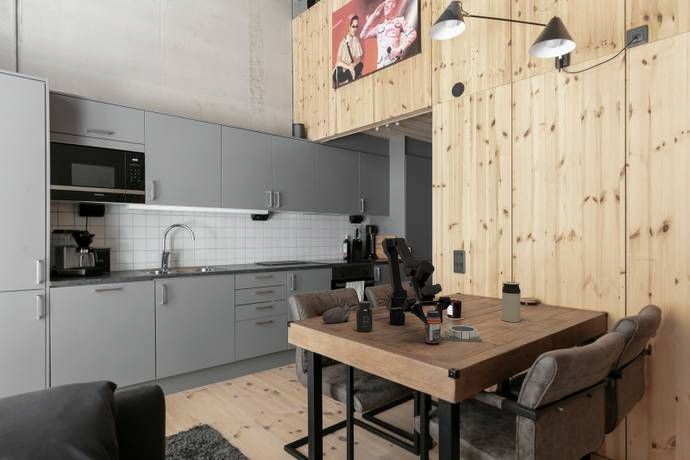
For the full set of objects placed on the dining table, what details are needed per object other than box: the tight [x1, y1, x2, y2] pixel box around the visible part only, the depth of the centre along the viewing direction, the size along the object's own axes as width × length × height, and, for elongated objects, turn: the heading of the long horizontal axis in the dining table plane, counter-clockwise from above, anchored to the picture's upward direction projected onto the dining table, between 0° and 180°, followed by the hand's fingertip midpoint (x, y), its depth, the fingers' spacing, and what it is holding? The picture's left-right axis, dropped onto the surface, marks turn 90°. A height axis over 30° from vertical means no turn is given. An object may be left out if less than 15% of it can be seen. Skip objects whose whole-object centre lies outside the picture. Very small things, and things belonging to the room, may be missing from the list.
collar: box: [444, 324, 483, 343], centre depth 162 cm, size 12×12×3 cm
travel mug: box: [501, 280, 522, 323], centre depth 193 cm, size 8×8×18 cm
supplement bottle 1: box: [355, 300, 374, 333], centre depth 172 cm, size 7×7×12 cm
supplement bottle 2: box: [423, 309, 442, 344], centre depth 154 cm, size 6×6×11 cm
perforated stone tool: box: [321, 305, 351, 324], centre depth 188 cm, size 15×5×7 cm, turn 121°
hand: (434, 323), depth 152 cm, fingers closed on supplement bottle 2, 6 cm apart
